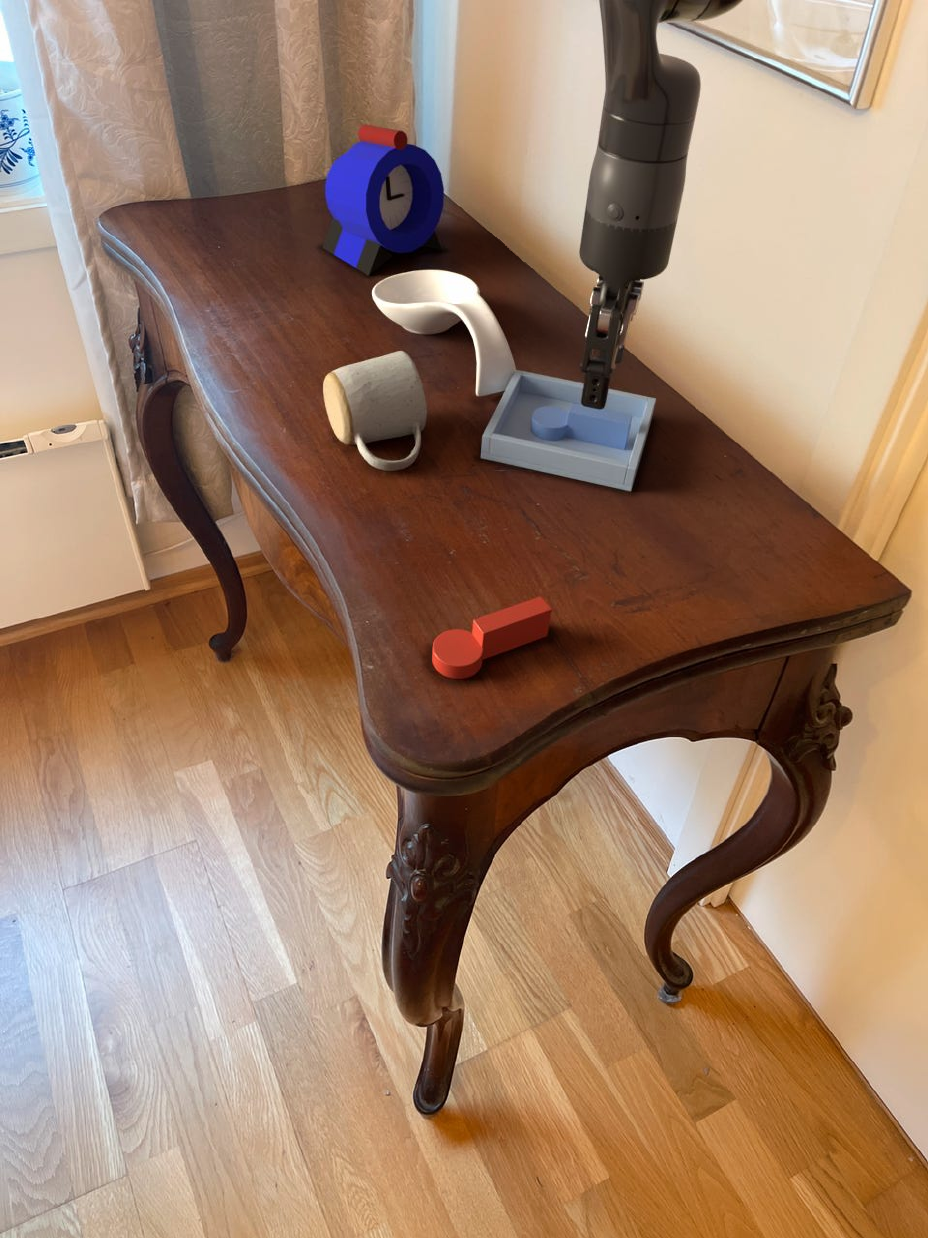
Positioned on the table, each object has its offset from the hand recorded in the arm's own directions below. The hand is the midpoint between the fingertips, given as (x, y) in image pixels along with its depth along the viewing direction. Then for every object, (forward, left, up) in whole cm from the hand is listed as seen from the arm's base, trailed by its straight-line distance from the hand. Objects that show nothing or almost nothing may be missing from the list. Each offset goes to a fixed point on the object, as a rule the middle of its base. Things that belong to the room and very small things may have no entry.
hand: (601, 382), depth 87 cm
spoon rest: (+19, -13, -7) cm, 24 cm away
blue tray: (+2, 0, -7) cm, 7 cm away
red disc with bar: (+2, +30, -7) cm, 31 cm away
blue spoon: (+2, 0, -6) cm, 6 cm away
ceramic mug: (+19, +7, -7) cm, 22 cm away
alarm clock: (+34, -33, -7) cm, 48 cm away
